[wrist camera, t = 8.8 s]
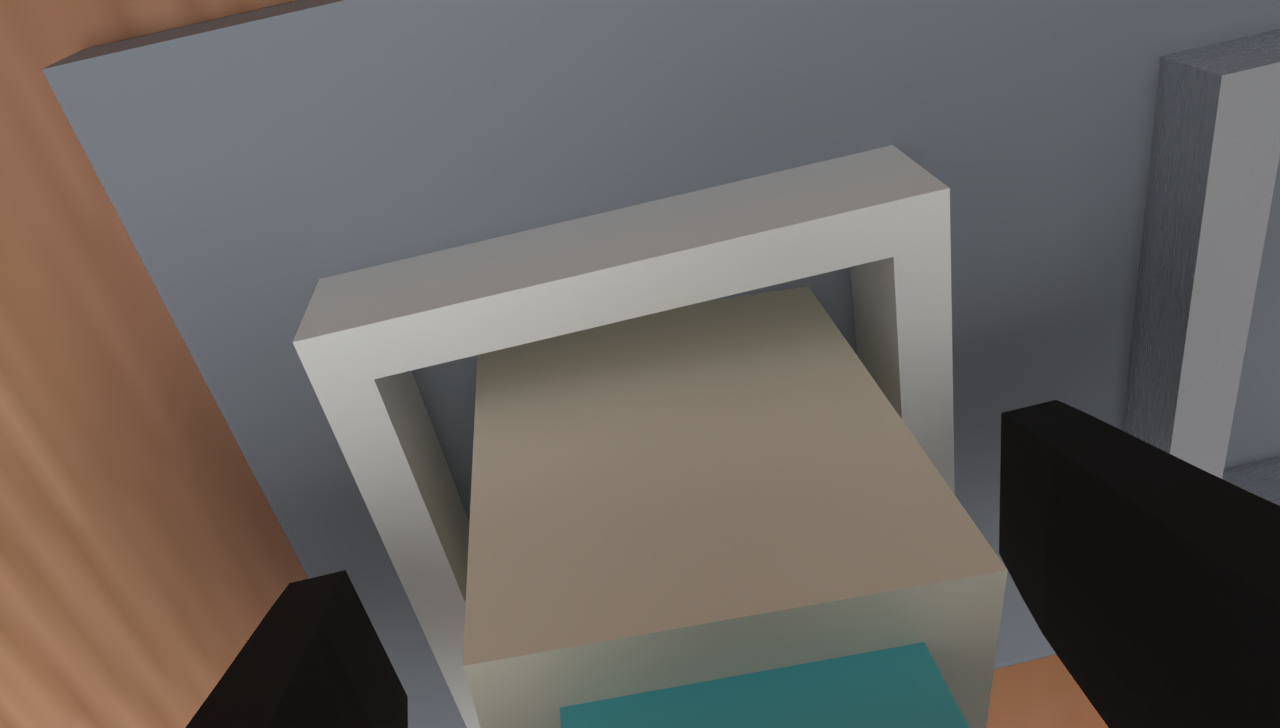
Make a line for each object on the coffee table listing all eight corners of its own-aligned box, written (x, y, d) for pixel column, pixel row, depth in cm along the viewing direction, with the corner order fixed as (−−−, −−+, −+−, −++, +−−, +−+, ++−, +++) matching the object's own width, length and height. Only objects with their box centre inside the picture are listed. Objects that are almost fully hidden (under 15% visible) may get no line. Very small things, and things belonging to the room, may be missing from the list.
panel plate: (1882, -361, 10) (2014, -382, 9) (1536, 485, 16) (1595, 522, 15) (82, 48, 10) (40, 69, 9) (432, 755, 16) (427, 808, 15)
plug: (808, 286, 11) (1084, 677, 6) (810, 537, 13) (1015, 996, 8) (478, 336, 11) (456, 794, 6) (533, 584, 13) (554, 1090, 8)
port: (892, 144, 10) (950, 188, 9) (914, 568, 14) (957, 644, 12) (318, 278, 10) (292, 342, 9) (483, 673, 13) (482, 760, 12)
